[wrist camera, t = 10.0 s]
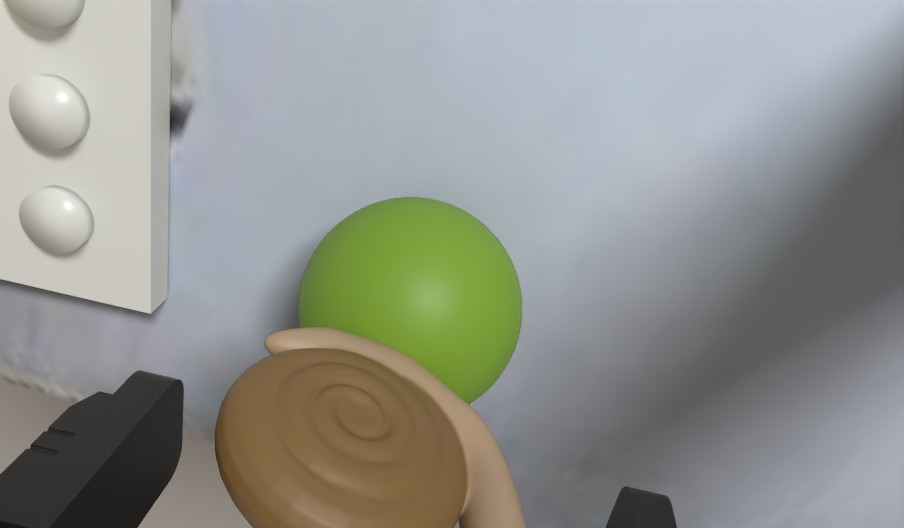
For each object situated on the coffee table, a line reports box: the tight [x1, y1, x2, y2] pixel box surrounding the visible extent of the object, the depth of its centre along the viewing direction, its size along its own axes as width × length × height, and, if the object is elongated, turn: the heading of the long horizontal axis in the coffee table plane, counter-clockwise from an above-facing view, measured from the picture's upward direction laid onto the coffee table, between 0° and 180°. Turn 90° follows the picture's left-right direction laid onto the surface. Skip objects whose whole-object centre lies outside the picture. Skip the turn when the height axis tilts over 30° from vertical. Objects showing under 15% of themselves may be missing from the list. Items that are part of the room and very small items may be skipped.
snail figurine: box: [215, 197, 526, 528], centre depth 14 cm, size 5×6×12 cm
